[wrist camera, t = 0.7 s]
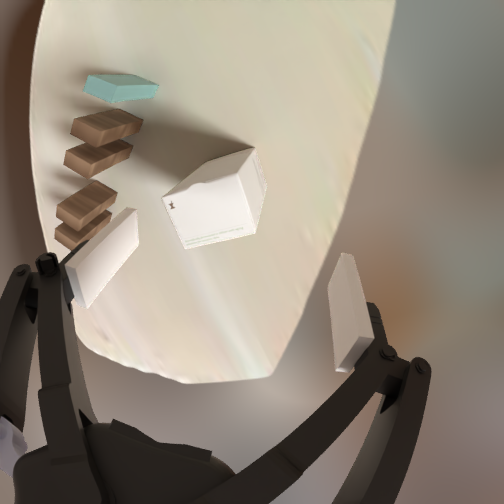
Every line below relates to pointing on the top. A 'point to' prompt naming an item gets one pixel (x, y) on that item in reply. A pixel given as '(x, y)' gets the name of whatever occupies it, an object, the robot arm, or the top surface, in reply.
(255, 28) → the top surface
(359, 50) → the top surface
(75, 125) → the domino
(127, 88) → the teal tile
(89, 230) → the domino
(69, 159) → the domino
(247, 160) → the skincare box
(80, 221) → the domino
